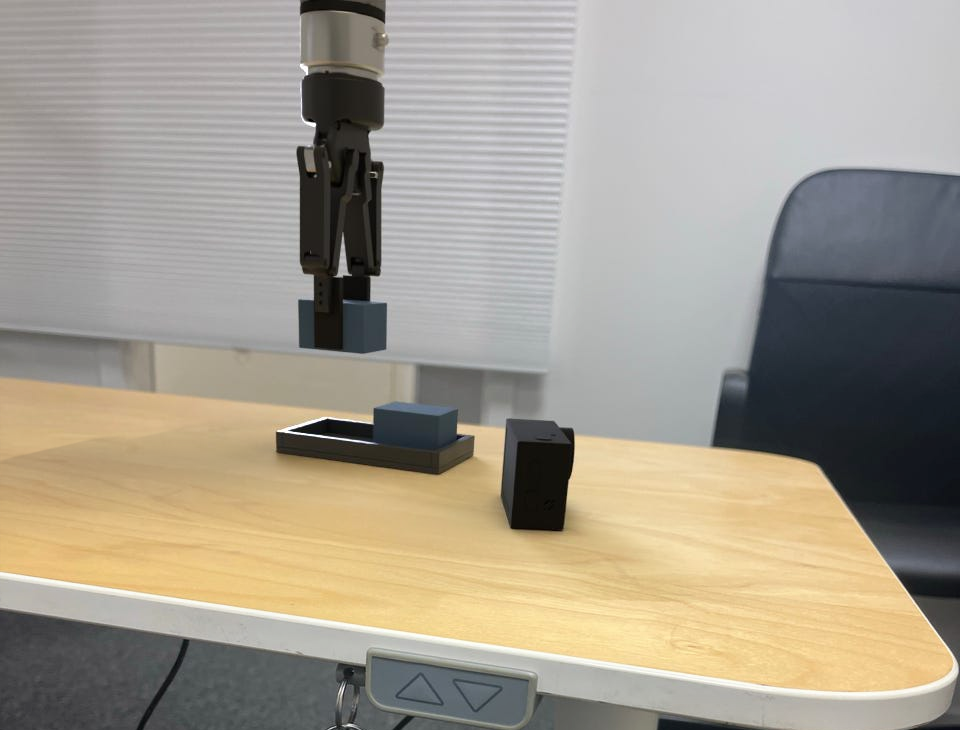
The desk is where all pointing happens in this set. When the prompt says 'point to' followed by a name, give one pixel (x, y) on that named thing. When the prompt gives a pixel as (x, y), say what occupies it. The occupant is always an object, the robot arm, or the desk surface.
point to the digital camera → (536, 473)
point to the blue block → (414, 425)
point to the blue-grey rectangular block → (349, 326)
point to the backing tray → (367, 446)
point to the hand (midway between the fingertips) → (342, 345)
